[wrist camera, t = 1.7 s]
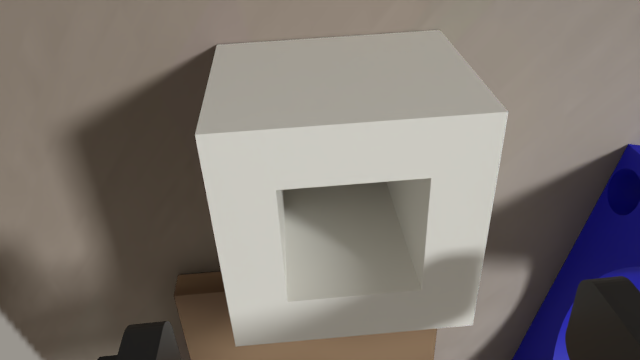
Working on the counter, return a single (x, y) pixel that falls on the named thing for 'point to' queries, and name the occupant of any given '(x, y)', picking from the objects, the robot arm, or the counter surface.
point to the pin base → (297, 356)
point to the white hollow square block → (348, 184)
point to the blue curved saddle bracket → (592, 259)
